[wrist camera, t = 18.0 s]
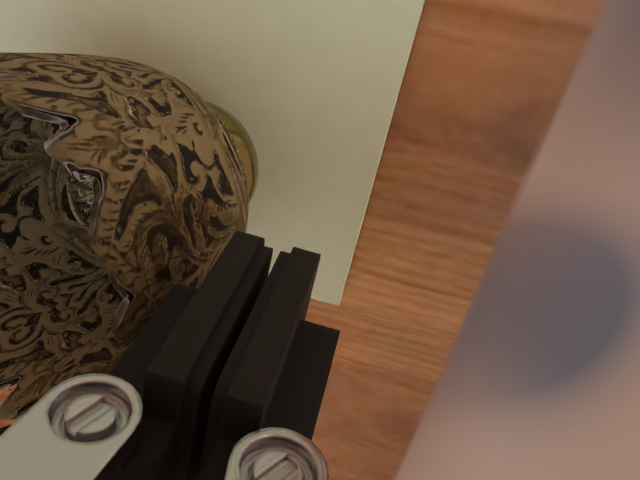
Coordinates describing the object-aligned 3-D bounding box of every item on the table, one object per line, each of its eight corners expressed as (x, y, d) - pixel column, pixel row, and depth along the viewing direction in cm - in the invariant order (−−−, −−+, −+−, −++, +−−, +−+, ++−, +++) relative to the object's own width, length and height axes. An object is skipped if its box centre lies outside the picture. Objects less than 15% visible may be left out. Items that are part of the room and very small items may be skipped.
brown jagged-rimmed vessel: (153, -31, 16) (-183, -36, 10) (376, 115, 15) (158, 222, 8) (97, 187, 20) (-167, 286, 14) (269, 319, 19) (65, 498, 12)
